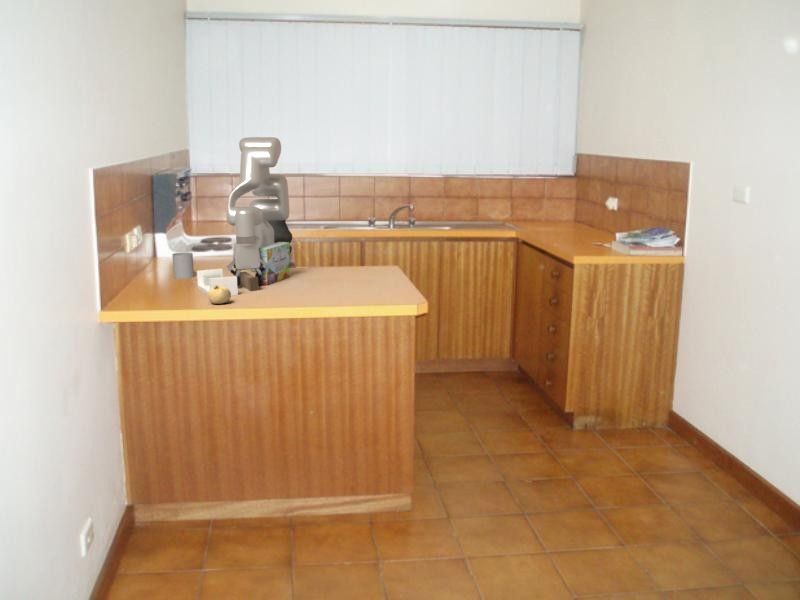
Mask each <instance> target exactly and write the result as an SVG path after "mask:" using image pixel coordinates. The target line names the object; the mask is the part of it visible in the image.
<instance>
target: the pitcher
mask: <svg viewBox="0 0 800 600" xmlns="http://www.w3.org/2000/svg"><path fill="white" fill-rule="evenodd" d="M286 220H287V219H286ZM286 220H279V221H268V223H269V224H270V225H271V226H272V228H273V230H274V243H277V242H289V243H290V244H291V243H292V239H293V234H292V232H291V231H290V229H289V227H288V225H287V222H286Z"/></svg>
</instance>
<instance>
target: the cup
mask: <svg viewBox="0 0 800 600" xmlns="http://www.w3.org/2000/svg"><path fill="white" fill-rule="evenodd" d="M171 255H172V256H171V257H172V270H173V279H176V280H186V279H192V278H194V277H195V275H194V274H195V273H194V271H195V270H194V255H193V252H176V253H172V254H171Z"/></svg>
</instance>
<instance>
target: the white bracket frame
mask: <svg viewBox="0 0 800 600" xmlns="http://www.w3.org/2000/svg"><path fill="white" fill-rule="evenodd" d="M196 281H197V282H196V283H197V289H199V290H200V291H201V292H203V293H204V294H205V295H207V296H208V294H209V291H210V290H211V289H212V288H213V286H215V285H219V286H224V287H226V288H228V289H229V291H230V292H231V296H238V295H239V293H238V289H239V288H238V286H237V276H234V275H233V276H224V270H223V268H213V269H211V268H210V269H201V270H196Z"/></svg>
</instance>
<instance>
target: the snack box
mask: <svg viewBox="0 0 800 600" xmlns="http://www.w3.org/2000/svg"><path fill="white" fill-rule="evenodd" d="M290 244H291V243H289V242H277V243H273V244H270V245H266V246H263V247H259V254H260V259H262V260H263V261H264V262H266V263H267V266H266V267H265V269H264V271H263V272H262V273H261V274H260V276H261V282H260V284H259V285H258V286H268V285H271V284H275V283H277V282H279V280H280V281H282V280H284V278H285V279H287V278H286V277H288V276H290V277H291V267H290V266H291V263H290V262H291V260H290V259H291V258H290V257H291V255H290V254H291V253H290ZM261 267H262V263H261V265H260V267H259V269H260V268H261ZM288 278H289V277H288Z"/></svg>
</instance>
